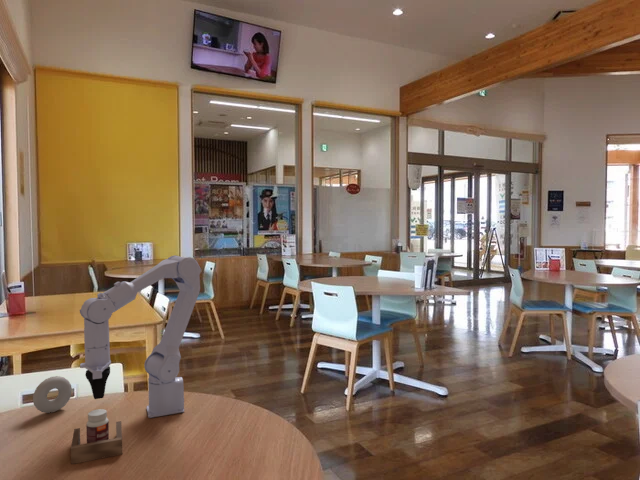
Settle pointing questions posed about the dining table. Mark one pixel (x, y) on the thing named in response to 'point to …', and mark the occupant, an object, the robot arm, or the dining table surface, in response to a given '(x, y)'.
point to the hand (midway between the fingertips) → (98, 397)
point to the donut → (43, 390)
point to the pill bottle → (97, 426)
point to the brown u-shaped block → (96, 447)
